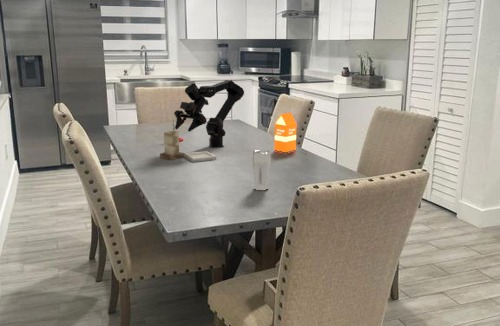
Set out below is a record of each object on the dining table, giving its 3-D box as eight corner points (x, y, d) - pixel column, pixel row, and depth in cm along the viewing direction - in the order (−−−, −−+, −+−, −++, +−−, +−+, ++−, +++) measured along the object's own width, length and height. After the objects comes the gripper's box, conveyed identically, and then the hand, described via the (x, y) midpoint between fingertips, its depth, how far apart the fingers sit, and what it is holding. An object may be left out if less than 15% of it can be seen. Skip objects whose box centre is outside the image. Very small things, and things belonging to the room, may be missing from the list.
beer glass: (251, 186, 194) (251, 149, 191) (268, 186, 195) (269, 149, 191) (253, 191, 187) (253, 153, 184) (270, 191, 188) (271, 153, 184)
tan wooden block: (172, 155, 245) (171, 130, 242) (179, 157, 242) (178, 131, 239) (164, 157, 241) (164, 131, 238) (171, 158, 238) (171, 132, 235)
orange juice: (295, 150, 259) (297, 113, 254) (285, 153, 252) (286, 115, 247) (284, 148, 264) (285, 111, 259) (274, 150, 257) (274, 113, 253)
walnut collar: (172, 154, 247) (172, 150, 247) (184, 156, 242) (184, 153, 242) (159, 157, 241) (159, 153, 240) (171, 160, 236) (171, 156, 235)
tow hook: (171, 139, 287) (166, 141, 278) (171, 117, 284) (166, 119, 275) (185, 140, 286) (180, 142, 277) (185, 118, 283) (180, 120, 274)
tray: (207, 154, 248) (207, 151, 247) (216, 159, 237) (216, 156, 237) (184, 156, 242) (184, 153, 242) (193, 162, 232) (193, 158, 232)
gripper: (176, 94, 250) (160, 118, 244) (202, 97, 238) (186, 122, 233) (187, 108, 257) (172, 131, 252) (213, 111, 246) (198, 136, 241)
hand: (182, 130), depth 244 cm, fingers open, 9 cm apart
